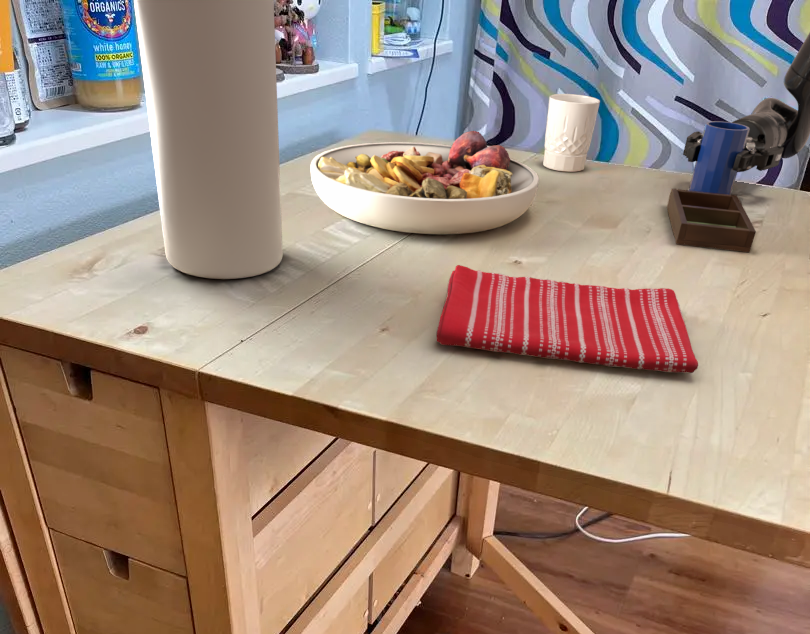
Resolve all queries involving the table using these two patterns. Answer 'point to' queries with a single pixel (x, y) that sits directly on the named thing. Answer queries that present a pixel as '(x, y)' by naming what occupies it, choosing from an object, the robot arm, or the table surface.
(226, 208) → the cylinder vase
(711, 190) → the cup
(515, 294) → the dish towel
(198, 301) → the table surface
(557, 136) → the white cup
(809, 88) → the robot arm
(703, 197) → the holder
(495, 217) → the bowl
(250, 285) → the table surface
